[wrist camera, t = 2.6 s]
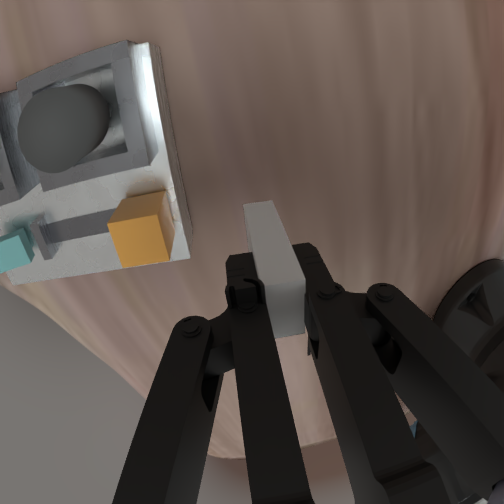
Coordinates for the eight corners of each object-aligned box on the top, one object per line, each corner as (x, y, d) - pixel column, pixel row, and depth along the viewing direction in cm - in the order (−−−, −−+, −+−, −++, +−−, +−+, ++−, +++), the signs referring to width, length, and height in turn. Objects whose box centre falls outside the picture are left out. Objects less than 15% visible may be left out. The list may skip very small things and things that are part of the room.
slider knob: (175, 231, 21) (169, 260, 18) (134, 238, 21) (122, 267, 18) (165, 190, 19) (157, 214, 16) (122, 199, 19) (107, 223, 16)
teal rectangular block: (34, 254, 20) (31, 262, 19) (-2, 267, 19) (-7, 275, 18) (23, 227, 19) (18, 235, 18) (-14, 242, 18) (-20, 249, 17)
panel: (193, 231, 26) (188, 284, 20) (30, 260, 25) (-2, 307, 20) (159, 47, 18) (136, 37, 12) (-19, 115, 17) (-71, 137, 11)
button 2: (116, 145, 15) (98, 161, 12) (54, 163, 15) (30, 182, 12) (102, 74, 13) (80, 76, 10) (39, 97, 13) (10, 105, 10)
